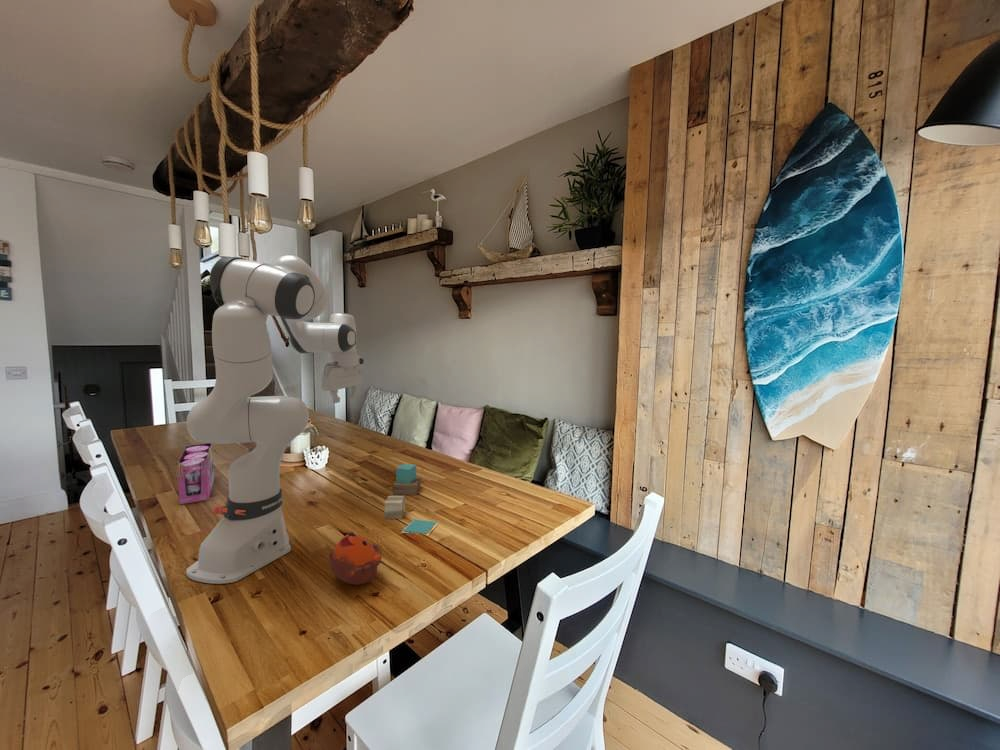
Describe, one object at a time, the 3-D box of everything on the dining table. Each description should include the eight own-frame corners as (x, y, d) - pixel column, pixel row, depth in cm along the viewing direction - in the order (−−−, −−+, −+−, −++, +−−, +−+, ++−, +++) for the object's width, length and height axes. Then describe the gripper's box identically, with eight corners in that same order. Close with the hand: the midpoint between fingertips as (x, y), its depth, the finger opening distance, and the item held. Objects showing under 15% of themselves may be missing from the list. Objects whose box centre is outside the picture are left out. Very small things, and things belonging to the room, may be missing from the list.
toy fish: (319, 582, 91) (317, 533, 90) (359, 560, 100) (358, 516, 99) (353, 602, 85) (352, 550, 84) (392, 577, 94) (392, 530, 92)
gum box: (209, 501, 132) (206, 460, 130) (178, 506, 128) (175, 464, 126) (214, 478, 152) (212, 442, 151) (188, 481, 148) (185, 445, 147)
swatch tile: (428, 537, 112) (428, 534, 112) (401, 533, 114) (401, 531, 114) (438, 523, 120) (438, 521, 120) (413, 520, 122) (413, 518, 121)
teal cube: (409, 483, 140) (409, 469, 140) (396, 482, 142) (396, 468, 141) (416, 478, 145) (416, 465, 144) (403, 477, 146) (403, 463, 146)
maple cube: (401, 518, 123) (401, 502, 122) (384, 518, 122) (384, 502, 122) (404, 511, 128) (404, 495, 127) (388, 511, 127) (388, 495, 127)
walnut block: (416, 496, 140) (416, 485, 139) (392, 496, 140) (392, 484, 139) (420, 487, 148) (420, 476, 147) (398, 487, 148) (398, 476, 147)
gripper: (333, 363, 131) (334, 406, 132) (367, 359, 150) (368, 396, 152) (315, 362, 132) (317, 405, 134) (352, 358, 152) (352, 395, 153)
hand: (344, 400), depth 143 cm, fingers open, 8 cm apart
